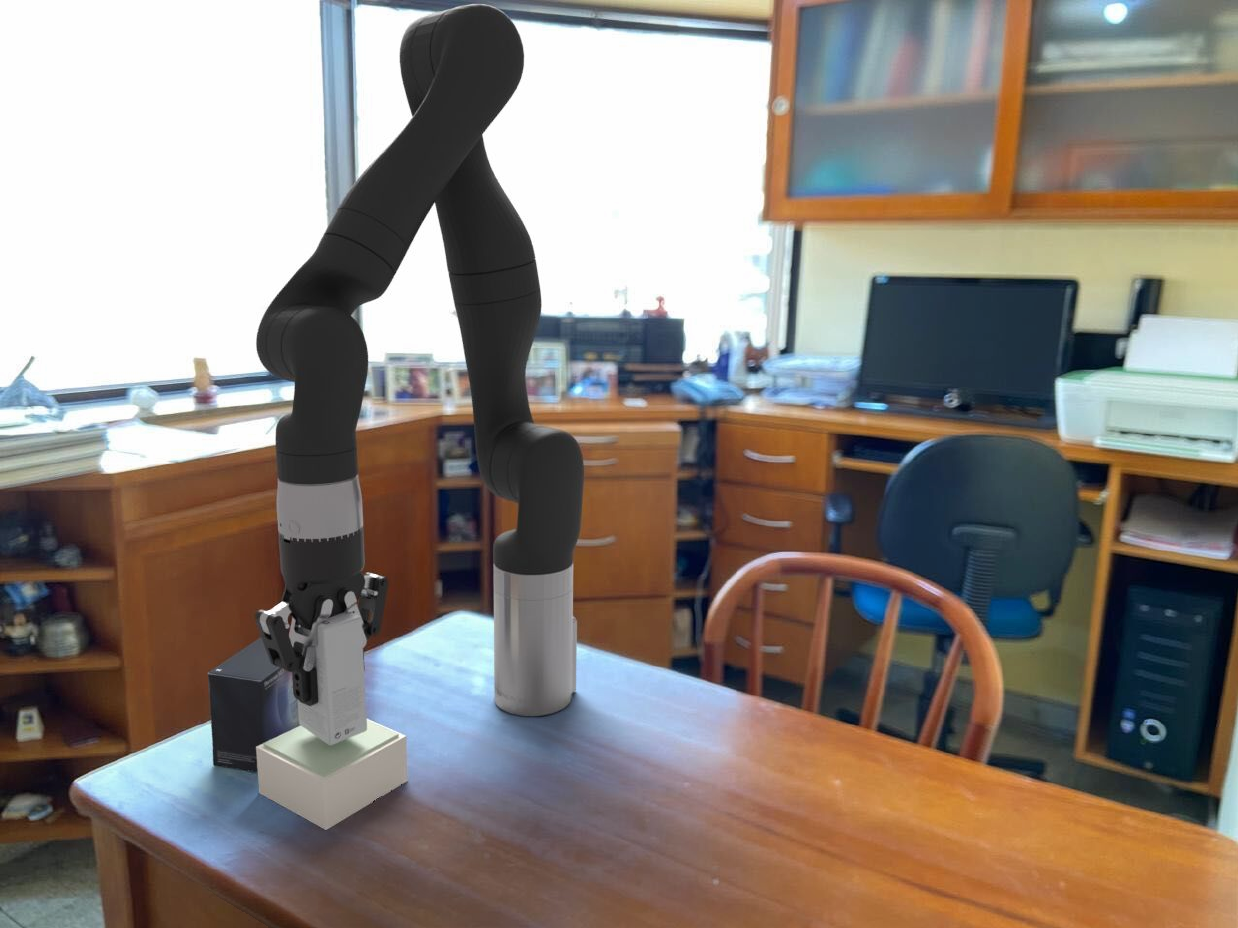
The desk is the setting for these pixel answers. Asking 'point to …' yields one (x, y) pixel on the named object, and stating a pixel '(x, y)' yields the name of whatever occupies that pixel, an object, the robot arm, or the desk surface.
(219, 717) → the small box
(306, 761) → the cream rectangular block
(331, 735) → the skincare box
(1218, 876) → the desk surface
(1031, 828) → the desk surface
